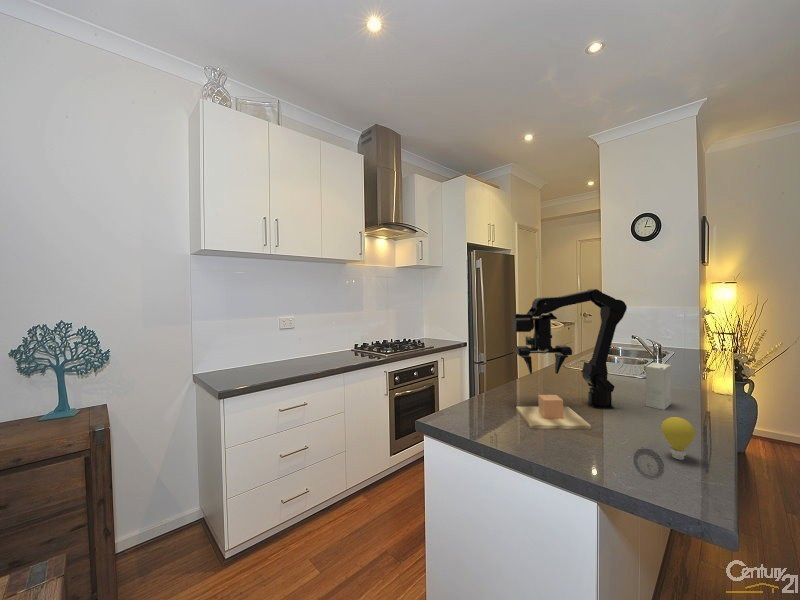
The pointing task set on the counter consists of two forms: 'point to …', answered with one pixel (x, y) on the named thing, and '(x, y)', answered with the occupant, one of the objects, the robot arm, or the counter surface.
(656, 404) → the skincare box
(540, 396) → the tan cardboard-like cube
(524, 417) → the post base
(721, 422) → the counter surface
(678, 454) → the light bulb
